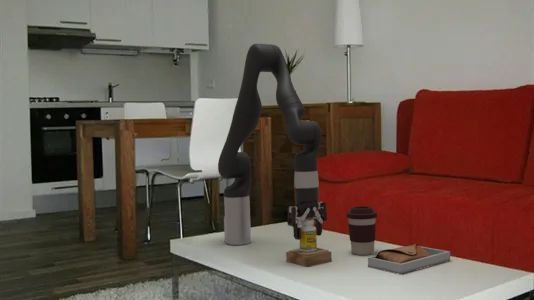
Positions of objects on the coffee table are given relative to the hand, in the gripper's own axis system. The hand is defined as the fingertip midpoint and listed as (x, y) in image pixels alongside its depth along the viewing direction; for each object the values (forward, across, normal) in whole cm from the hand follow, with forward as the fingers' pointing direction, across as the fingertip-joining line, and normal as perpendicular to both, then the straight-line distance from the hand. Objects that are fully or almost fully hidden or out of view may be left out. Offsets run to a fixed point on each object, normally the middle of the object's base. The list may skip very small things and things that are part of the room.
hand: (308, 237), depth 187 cm
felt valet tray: (+8, -19, +24) cm, 32 cm away
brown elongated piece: (+7, -19, +23) cm, 31 cm away
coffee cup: (+8, -20, +4) cm, 22 cm away
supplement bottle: (+4, 0, 0) cm, 4 cm away
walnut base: (+8, 0, 0) cm, 8 cm away
